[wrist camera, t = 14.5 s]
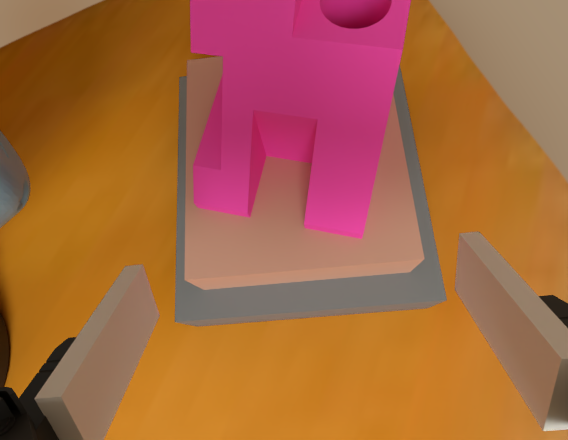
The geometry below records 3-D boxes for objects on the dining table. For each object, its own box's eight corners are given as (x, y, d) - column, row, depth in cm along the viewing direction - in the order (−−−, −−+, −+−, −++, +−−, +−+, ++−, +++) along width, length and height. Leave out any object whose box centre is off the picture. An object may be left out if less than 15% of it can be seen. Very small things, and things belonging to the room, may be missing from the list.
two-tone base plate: (197, 326, 31) (150, 317, 23) (197, 111, 38) (160, 41, 29) (427, 308, 30) (468, 291, 22) (387, 89, 37) (406, 9, 28)
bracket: (245, 53, 28) (205, -104, 19) (391, 70, 27) (430, -91, 17) (197, 207, 25) (116, 115, 15) (361, 238, 23) (389, 157, 13)
